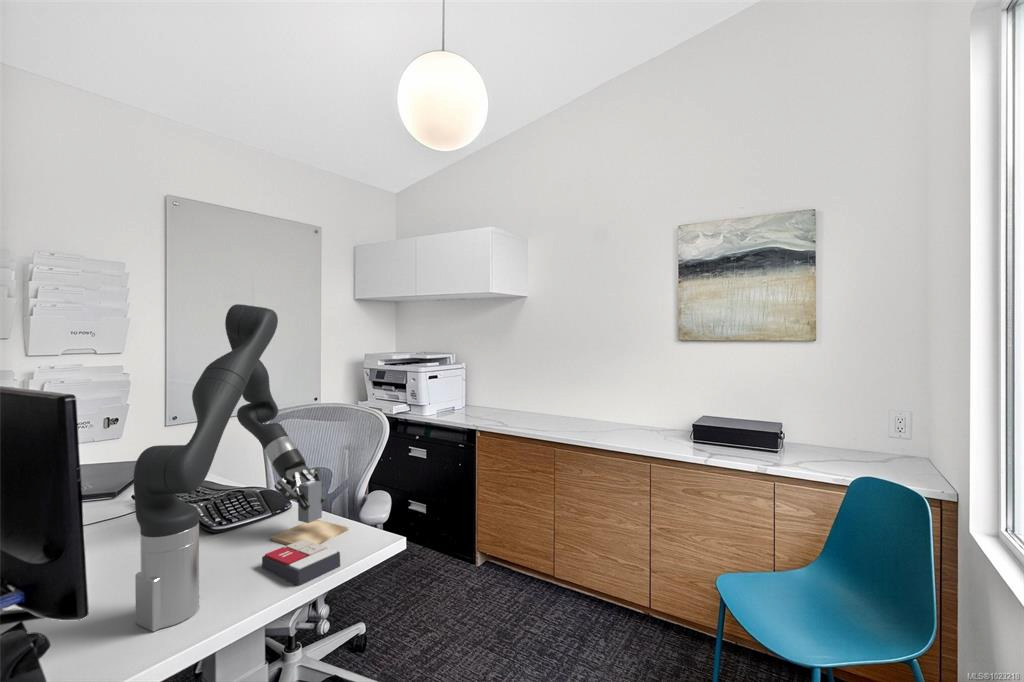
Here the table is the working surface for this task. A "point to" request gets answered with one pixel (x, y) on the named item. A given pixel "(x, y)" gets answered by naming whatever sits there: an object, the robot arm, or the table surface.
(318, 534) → the cork coaster
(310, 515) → the block
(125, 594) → the table surface
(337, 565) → the red-tabbed grey slab
